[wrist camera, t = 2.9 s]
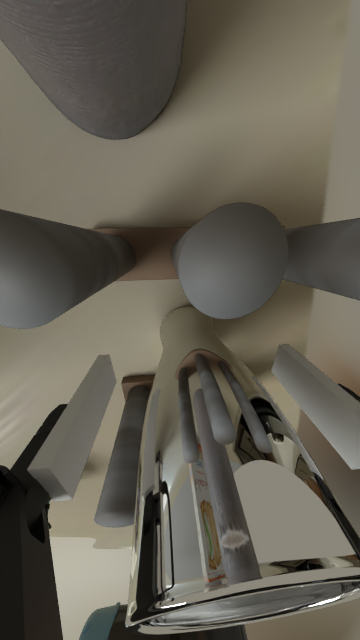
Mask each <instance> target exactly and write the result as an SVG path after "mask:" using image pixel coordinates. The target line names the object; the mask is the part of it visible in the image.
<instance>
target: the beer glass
mask: <svg viewBox="0 0 360 640" xmlns="http://www.w3.org/2000/svg"><path fill="white" fill-rule="evenodd" d="M160 338H161V342H162V346H163V353H162V356H161V359H160V362H159V365H158V368H157V371H156V374H155V377H154V380H153V383H152V387H151V390H150V394H149V398H148V402H147V405H146V411H145V417H144V423H143V429H142V435H141V443H140V453H139V462H138V471H137V485H136V498H135V511H134V527H133V543H132V560H131V573H130V587H129V598H128V608H127V615H126V619H125V628H126V630H127V632H129V633H132V634H137V635H163V634H176V633H186V632H195V631H203V630H210V629H217V628H224V627H231V626H237V625H243V624H248V623H254V622H260V621H265V620H270V619H275V618H280V617H285V616H290V615H294V614H299V613H303V612H307V611H312V610H316V609H320V608H324V607H328V606H332V605H335V604H339V603H343V602H346V601H350V600H353V599H356V598H359V597H360V537H359V535H358V533H357V532H356V530H355V528H354V527H353V525H352V524H351V522H350V520H349V519H348V517H347V515H346V514H345V512H344V510H343V509H342V507H341V505H340V504H339V502H338V500H337V499H336V497H335V496H334V494H333V492H332V490H331V489H330V487H329V485H328V484H327V482H326V480H325V479H324V477H323V475H322V474H321V472H320V470H319V469H318V467H317V465H316V464H315V462H314V461H313V459H312V457H311V456H310V454H309V452H308V451H307V449H306V448H305V446H304V444H303V443H302V441H301V439H300V438H299V436H298V435H297V433H296V432H295V430H294V429H293V427H292V426H291V424H290V423H289V421H288V420H287V418H286V417H285V415H284V414H283V412H282V411H281V409H280V408H279V406H278V405H277V403H276V402H275V401H274V399H273V398H272V397H271V395H270V394H269V393H268V391H267V390H266V389H265V387H264V386H263V384H262V383H261V382H260V381H259V379H258V378H257V377H256V376H255V375H254V374H253V373H252V372H251V371H250V370H249V368H248V367H247V366H246V365H245V364H244V363H243V362H242V361H241V360H240V359H239V358H238V357H237V356H236V355H235V354H234V353H233V352H232V351H231V350H230V349H229V348H228V347H227V346H226V345H225V344H224V343H223V342H222V341H221V340H220V339H219V338H218V337H217V335H216V330H215V325H214V322H213V320H212V318H211V317H210V316H208V315H206V314H204V313H202V312H200V311H199V310H198V309H196V308H195V307H191V306H186V307H181V308H178V309H175V310H173V311H172V312H170V313H169V314H168V315H167V316H166V317H165V319H164V320H163V322H162V324H161V327H160Z"/></svg>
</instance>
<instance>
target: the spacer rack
mask: <svg viewBox="0 0 360 640" xmlns="http://www.w3.org/2000/svg"><path fill="white" fill-rule="evenodd" d="M160 279H179V280H180V283H181V285H182V288H183V291H184V293H185V295H186V297H187V298H188V300H189V301H190V302H191V304H192V305H193V306H194V307H195V308H196V309H198V310H199V311H200V312H202V313H204V314H206V315H208V316H210V317H214V318H219V319H232V318H238V317H242V316H244V315H247V314H249V313H251V312H253V311H255V310H256V309H258V308H259V307H261V306H262V305H263V304H264V303H265V302H267V301H268V300H269V299H270V297H271V296H272V295H273V294H274V292H275V291H276V290H277V288H278V286H279V285H280V283H281V281H282V279H283V280H287V281H291V282H294V283H298V284H302V285H305V286H309V287H312V288H316V289H320V290H324V291H327V292H331V293H335V294H338V295H342V296H345V297H349V298H353V299H356V300H360V218H356V219H350V220H343V221H337V222H331V223H324V224H317V225H311V226H304V227H298V228H291V229H285V226H282V225H281V223H280V222H279V221H278V219H277V218H276V217H275V216H274V215H273V214H272V213H271V212H269V211H268V210H267V209H265V208H263V207H261V206H259V205H256V204H252V203H232V204H228V205H225V206H222V207H220V208H217V209H216V210H214V211H212V212H211V213H209V214H208V215H207V216H205V217H204V218H203V219H202V220H200V221H199V222H198V223H197V224H195V225H194V226H193V227H180V228H104V229H84V228H80V227H75V226H71V225H66V224H62V223H58V222H53V221H49V220H45V219H40V218H36V217H32V216H27V215H23V214H19V213H14V212H10V211H5V210H1V209H0V325H1V326H5V327H10V328H18V329H28V328H35V327H40V326H42V325H45V324H47V323H49V322H51V321H52V320H54V319H55V318H57V317H58V316H60V315H62V314H63V313H65V312H66V311H68V310H70V309H71V308H73V307H74V306H76V305H77V304H79V303H81V302H82V301H84V300H85V299H87V298H88V297H90V296H92V295H93V294H95V293H96V292H98V291H100V290H101V289H103V288H104V287H106V286H107V285H109V284H111V283H112V282H114V281H130V280H160ZM154 377H155V375H150V376H135V377H123V380H122V383H121V384H122V388H123V393H124V397H125V401H126V403H125V407H124V410H123V414H122V418H121V422H120V425H119V429H118V433H117V436H116V440H115V444H114V448H113V451H112V455H111V459H110V462H109V466H108V470H107V474H106V477H105V481H104V485H103V489H102V492H101V496H100V500H99V503H98V507H97V511H96V515H95V518H94V521H95V522H96V523H97V524H98V525H101V526H104V527H125V526H129V525H132V524H134V511H135V498H136V485H137V471H138V462H139V453H140V443H141V435H142V429H143V423H144V417H145V411H146V405H147V402H148V398H149V394H150V390H151V387H152V383H153V380H154Z"/></svg>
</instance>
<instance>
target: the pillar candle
mask: <svg viewBox="0 0 360 640" xmlns="http://www.w3.org/2000/svg"><path fill="white" fill-rule="evenodd" d="M186 10H187V0H0V39H1V40H2V42H3V43H4V44H5V45H6V47H7V48H8V49H9V50H10V52H11V53H12V54H13V55H14V56H15V58H16V59H17V60H18V61H19V63H20V64H21V65H22V66H23V68H24V69H25V70H26V71H27V73H28V74H29V75H30V77H31V78H32V79H33V80H34V82H35V83H36V84H37V85H38V86H39V88H40V89H41V90H42V91H43V93H44V94H45V95H46V96H47V97H48V99H49V100H50V101H51V102H52V103H53V104H54V105H55V106H56V107H57V108H58V109H59V110H60V111H61V112H62V113H63V114H64V115H65V116H66V117H67V118H68V119H69V120H70V121H72V122H73V123H74V124H76V125H77V126H78V127H80V128H81V129H83V130H85V131H87V132H89V133H91V134H93V135H96V136H99V137H102V138H106V139H114V140H115V139H127V138H130V137H133V136H135V135H136V134H138V133H139V132H141V131H142V130H143V129H144V128H145V127H146V126H148V125H149V124H150V123H151V122H152V121H153V120H154V119H155V118H156V117H157V116H158V114H159V113H160V112H161V110H162V109H163V108H164V106H165V105H166V103H167V102H168V100H169V98H170V96H171V93H172V91H173V88H174V85H175V82H176V79H177V75H178V72H179V69H180V63H181V54H182V47H183V41H184V32H185V22H186Z"/></svg>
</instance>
